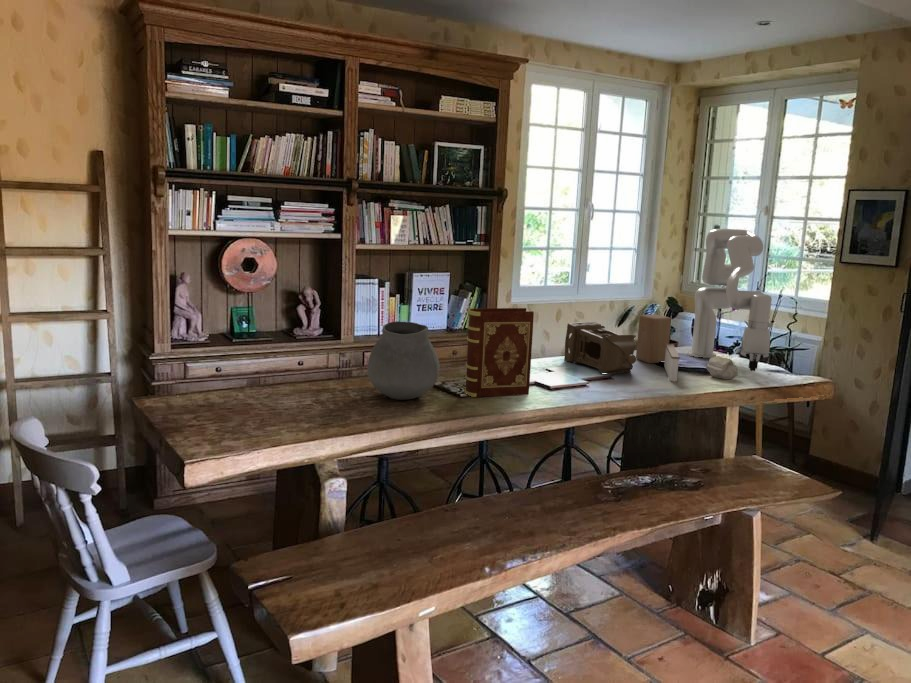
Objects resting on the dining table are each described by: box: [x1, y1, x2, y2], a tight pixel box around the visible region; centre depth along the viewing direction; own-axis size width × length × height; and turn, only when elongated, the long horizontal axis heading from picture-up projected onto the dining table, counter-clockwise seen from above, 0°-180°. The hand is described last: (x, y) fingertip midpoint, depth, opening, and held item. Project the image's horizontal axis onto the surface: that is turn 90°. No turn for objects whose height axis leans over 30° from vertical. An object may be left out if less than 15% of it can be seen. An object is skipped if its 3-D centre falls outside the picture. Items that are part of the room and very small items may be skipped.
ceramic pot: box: [367, 320, 441, 401], centre depth 250 cm, size 24×24×25 cm
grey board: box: [663, 343, 681, 382], centre depth 301 cm, size 27×3×10 cm, turn 169°
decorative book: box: [464, 307, 535, 398], centre depth 259 cm, size 22×8×30 cm, turn 106°
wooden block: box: [635, 313, 672, 364], centre depth 323 cm, size 10×10×20 cm
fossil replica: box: [706, 355, 738, 381], centre depth 298 cm, size 12×8×10 cm
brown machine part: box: [563, 321, 637, 374], centre depth 304 cm, size 35×18×18 cm, turn 28°
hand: (752, 370), depth 296 cm, fingers closed
